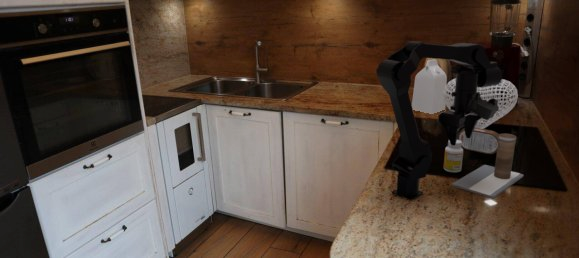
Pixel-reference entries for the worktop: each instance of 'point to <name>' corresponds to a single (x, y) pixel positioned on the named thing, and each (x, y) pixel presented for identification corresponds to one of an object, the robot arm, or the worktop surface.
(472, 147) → the tin
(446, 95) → the heart
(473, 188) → the slate-grey panel
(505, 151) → the beige tapered cylinder
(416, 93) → the milk
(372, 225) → the worktop surface
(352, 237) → the worktop surface
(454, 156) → the supplement bottle
